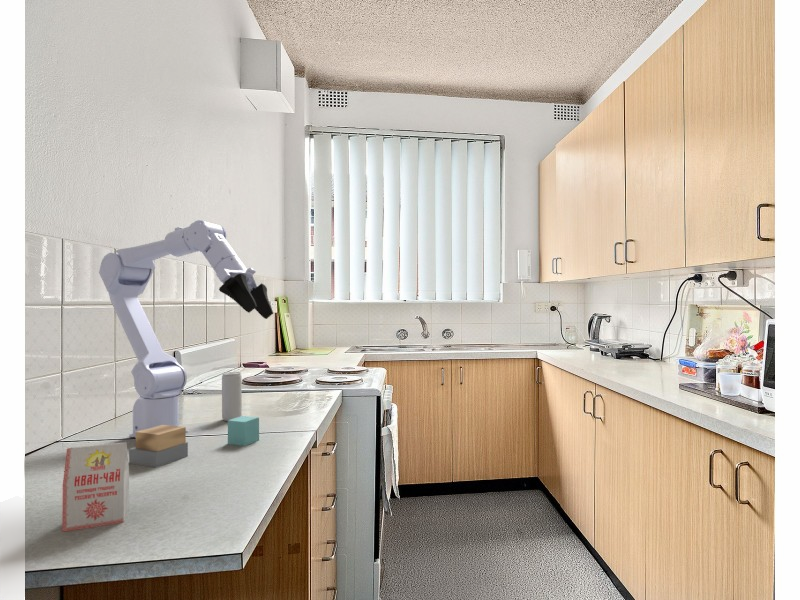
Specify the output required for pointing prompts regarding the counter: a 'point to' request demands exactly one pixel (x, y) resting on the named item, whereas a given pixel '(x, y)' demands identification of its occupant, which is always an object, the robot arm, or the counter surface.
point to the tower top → (160, 437)
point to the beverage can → (231, 395)
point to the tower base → (157, 455)
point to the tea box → (95, 486)
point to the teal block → (243, 430)
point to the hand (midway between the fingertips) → (261, 312)
